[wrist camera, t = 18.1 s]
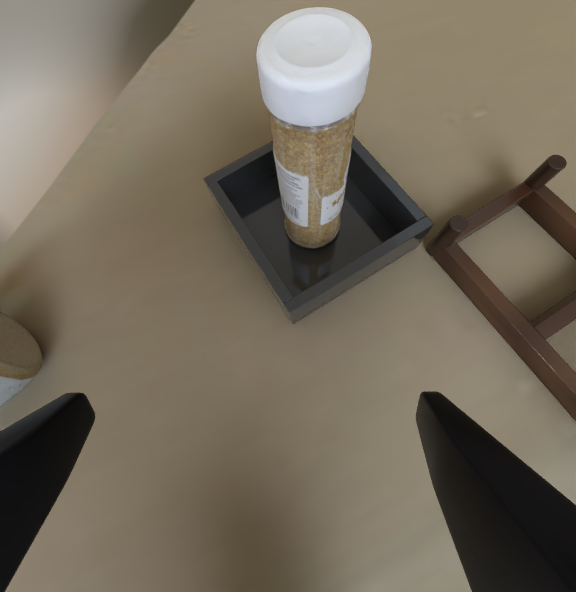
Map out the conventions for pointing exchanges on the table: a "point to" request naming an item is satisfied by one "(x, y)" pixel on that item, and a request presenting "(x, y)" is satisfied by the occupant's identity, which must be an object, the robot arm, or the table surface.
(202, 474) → the table surface
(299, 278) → the open square storage box
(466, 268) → the cup rack
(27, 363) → the ceramic mug
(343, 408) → the table surface
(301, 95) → the sprinkles bottle
